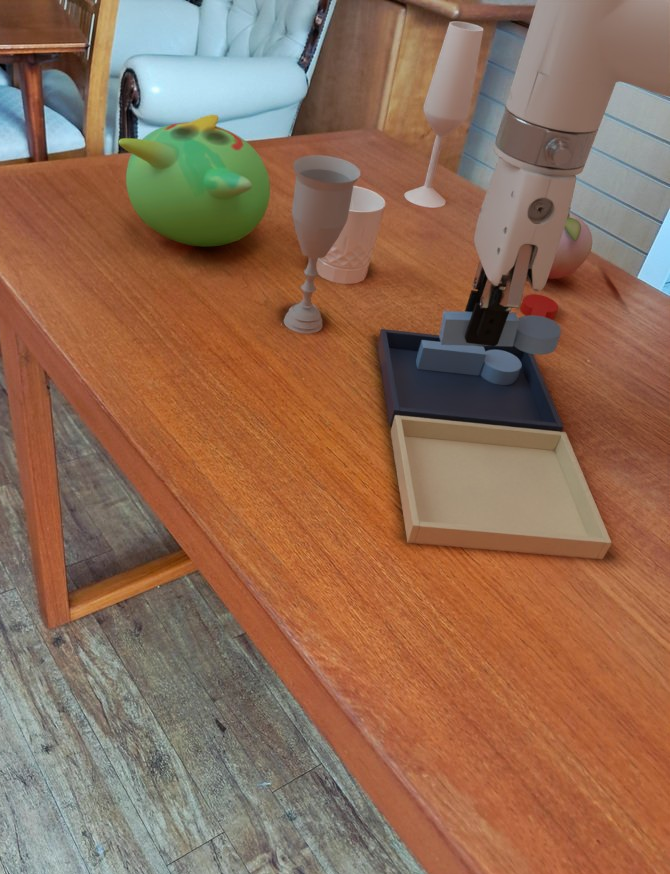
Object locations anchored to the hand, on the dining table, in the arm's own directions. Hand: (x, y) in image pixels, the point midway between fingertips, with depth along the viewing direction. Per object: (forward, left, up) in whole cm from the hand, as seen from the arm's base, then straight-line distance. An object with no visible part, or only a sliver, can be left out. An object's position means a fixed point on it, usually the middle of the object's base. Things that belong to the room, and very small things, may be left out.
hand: (478, 335), depth 77 cm
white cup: (+11, -28, -9) cm, 31 cm away
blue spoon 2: (-2, 0, 0) cm, 2 cm away
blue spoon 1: (-3, -7, -8) cm, 11 cm away
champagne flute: (-4, -57, -9) cm, 57 cm away
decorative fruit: (-18, -34, -9) cm, 39 cm away
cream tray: (-1, +13, -9) cm, 16 cm away
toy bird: (+30, -33, -9) cm, 45 cm away
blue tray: (-1, -3, -9) cm, 9 cm away
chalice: (+16, -14, -9) cm, 23 cm away
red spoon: (-13, -20, -9) cm, 25 cm away
